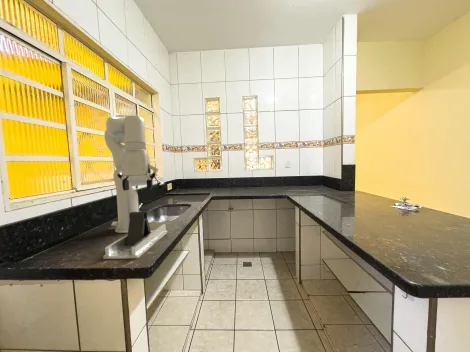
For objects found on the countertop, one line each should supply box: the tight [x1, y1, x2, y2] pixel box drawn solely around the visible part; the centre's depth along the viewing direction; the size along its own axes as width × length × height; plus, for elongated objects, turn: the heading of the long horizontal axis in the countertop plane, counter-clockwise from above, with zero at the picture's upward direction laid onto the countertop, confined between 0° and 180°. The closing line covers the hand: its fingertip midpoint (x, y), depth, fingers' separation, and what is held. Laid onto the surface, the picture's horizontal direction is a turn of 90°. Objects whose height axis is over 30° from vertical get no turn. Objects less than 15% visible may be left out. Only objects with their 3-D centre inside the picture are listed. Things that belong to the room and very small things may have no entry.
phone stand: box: [126, 211, 151, 245], centre depth 83 cm, size 9×6×12 cm, turn 175°
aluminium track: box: [103, 223, 169, 260], centre depth 83 cm, size 12×28×4 cm, turn 178°
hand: (137, 189), depth 82 cm, fingers open, 9 cm apart
